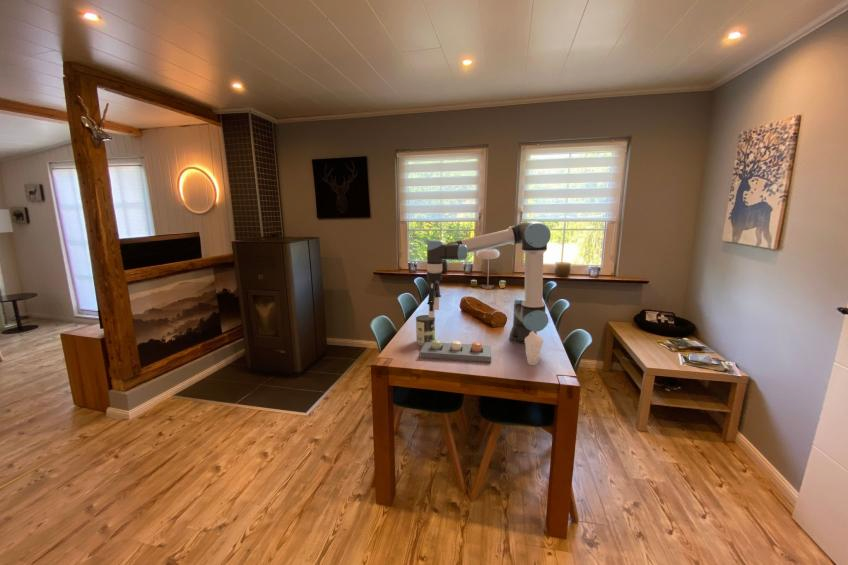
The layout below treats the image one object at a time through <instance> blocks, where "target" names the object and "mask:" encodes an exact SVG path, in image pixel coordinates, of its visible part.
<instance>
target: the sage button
mask: <svg viewBox="0 0 848 565" xmlns="http://www.w3.org/2000/svg"><path fill="white" fill-rule="evenodd" d="M441 343H442V340H440V339H435V340H432V341H431V349H432V350H441Z"/></svg>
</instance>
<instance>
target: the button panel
mask: <svg viewBox="0 0 848 565" xmlns="http://www.w3.org/2000/svg"><path fill="white" fill-rule="evenodd" d="M471 349H472V343H471V344H468V343H461V351H451V342H450V343H449V342H441V350H432V349H431V342H425V343H424V345H422V347H421V350H420V352H419V356H420V357H419V358H420V359H428V360H429V359H431V360H443V361H444V360H446V361H459V362H460V361H461V362H477V363H492V345H488V344H482V352H481V353H478V352H471Z"/></svg>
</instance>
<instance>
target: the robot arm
mask: <svg viewBox="0 0 848 565" xmlns="http://www.w3.org/2000/svg"><path fill="white" fill-rule="evenodd" d="M550 240H551V231H550V228H549V227H548V226H547V224H545V223H543V222H542V221H541V222H540V221H530V220H529V221H525V222H524V221H523V222H521V223H518V224H515V225H511V226H508V227H507V229H503V230H499V231H494V232H490V233H486V234H482V235H478V236H473V237H469V238H464V239H460V240H456V241H449V242H447V244H444V243H443V240H440V239H439V240H438V239H431V240H428V241H427V244H426V245H427V246H426V265H425V267H426V271H427V272H426V279H427V281H430V283H429V290H428V299H427V303H426V304H427V305H428V315H429V317H433V318H434V317H436V316H435V311H440V298H441V296H442V295H441V291H440V290H441V289H440V281H442V280H443V261H446V260H447V261H464V260H465V261H466V260H467V259H468V254H470V253H471V254H472V253H475V252H479V251H483V250H489V249H492V248H497V247H501V246H506V245H512V246H514V245H521V251H522V252H523V253H524V297H522V298H515V299H514V301H513V319H512V320H513V321H512V323H513V324H512V327H511V329H510V332H509V336H508V338H509V340H510V341H512V342H514V343H517V344H521V345H522V344H524V345H525V343H524V342H525V340H524V339H525V337H527V336H528V335H529V333H530V332H531V331H534V333H536V334H537V335H538V333H537V332H541V331H544V329H545V328H546V327H547V326H548V324H549V317H548V314H547V313H546V303H545V302H544V301H543V293H544V292H543V289H544V288H543V287H544V284H543V283H544V280H543V279H544V253H545V252H546V251H547V250H548V243H549V242H550Z"/></svg>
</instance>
